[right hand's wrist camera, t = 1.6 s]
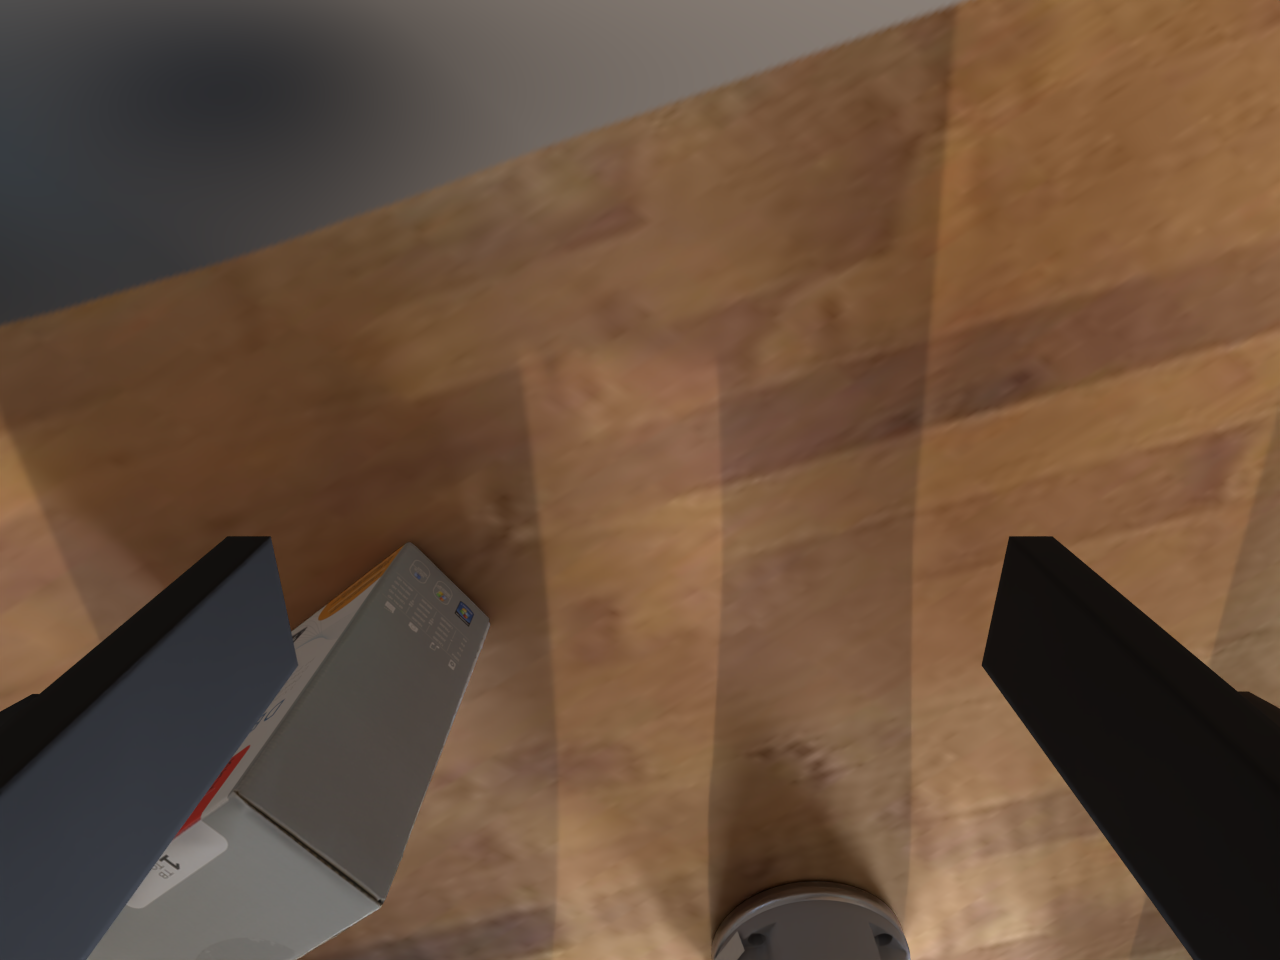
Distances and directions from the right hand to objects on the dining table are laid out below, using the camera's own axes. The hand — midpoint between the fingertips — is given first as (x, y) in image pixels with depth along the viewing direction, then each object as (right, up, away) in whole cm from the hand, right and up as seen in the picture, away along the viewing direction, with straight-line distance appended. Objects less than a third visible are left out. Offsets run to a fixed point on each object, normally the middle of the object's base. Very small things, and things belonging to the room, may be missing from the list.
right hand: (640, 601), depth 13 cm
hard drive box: (-18, -8, +34) cm, 39 cm away
